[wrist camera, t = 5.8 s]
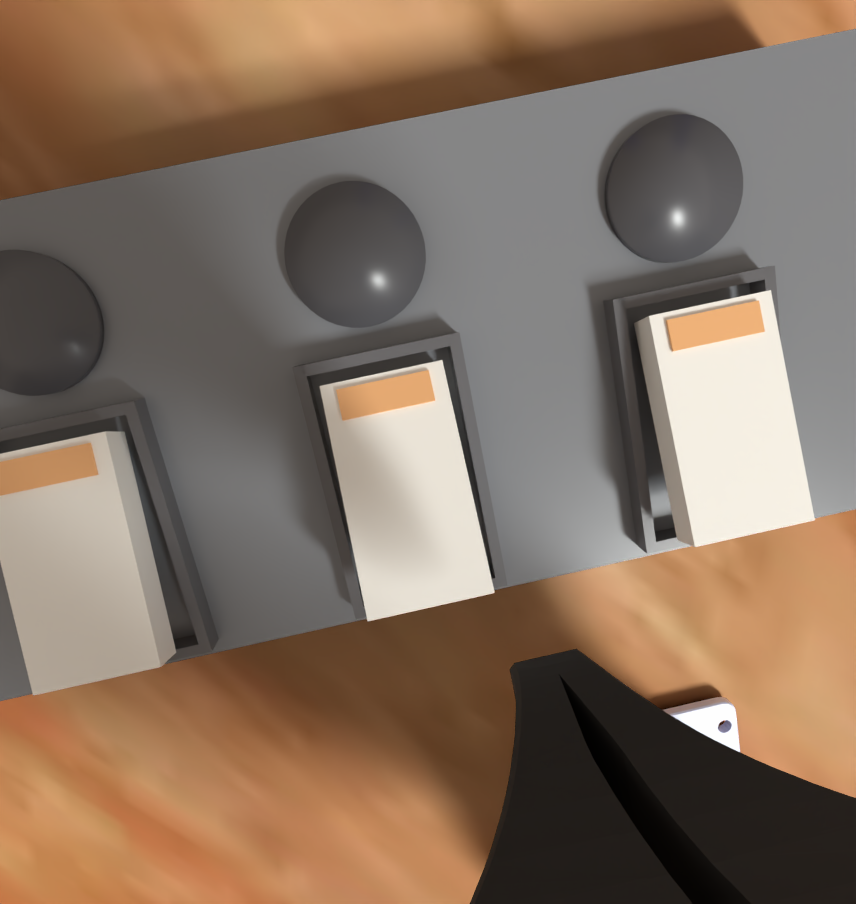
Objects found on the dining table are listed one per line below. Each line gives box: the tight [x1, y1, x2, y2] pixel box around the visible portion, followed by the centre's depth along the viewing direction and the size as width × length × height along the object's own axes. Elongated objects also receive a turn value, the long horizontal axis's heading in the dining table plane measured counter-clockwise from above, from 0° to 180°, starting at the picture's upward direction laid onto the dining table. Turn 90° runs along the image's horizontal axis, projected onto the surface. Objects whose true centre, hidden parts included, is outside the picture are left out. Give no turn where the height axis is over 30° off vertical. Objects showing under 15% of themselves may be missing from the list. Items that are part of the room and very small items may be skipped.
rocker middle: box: [320, 360, 495, 621], centre depth 15 cm, size 6×3×1 cm, turn 11°
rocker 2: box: [634, 290, 815, 547], centre depth 16 cm, size 6×3×1 cm, turn 12°
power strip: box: [0, 29, 856, 701], centre depth 18 cm, size 13×35×4 cm, turn 102°
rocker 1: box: [0, 431, 176, 696], centre depth 15 cm, size 6×3×1 cm, turn 12°
